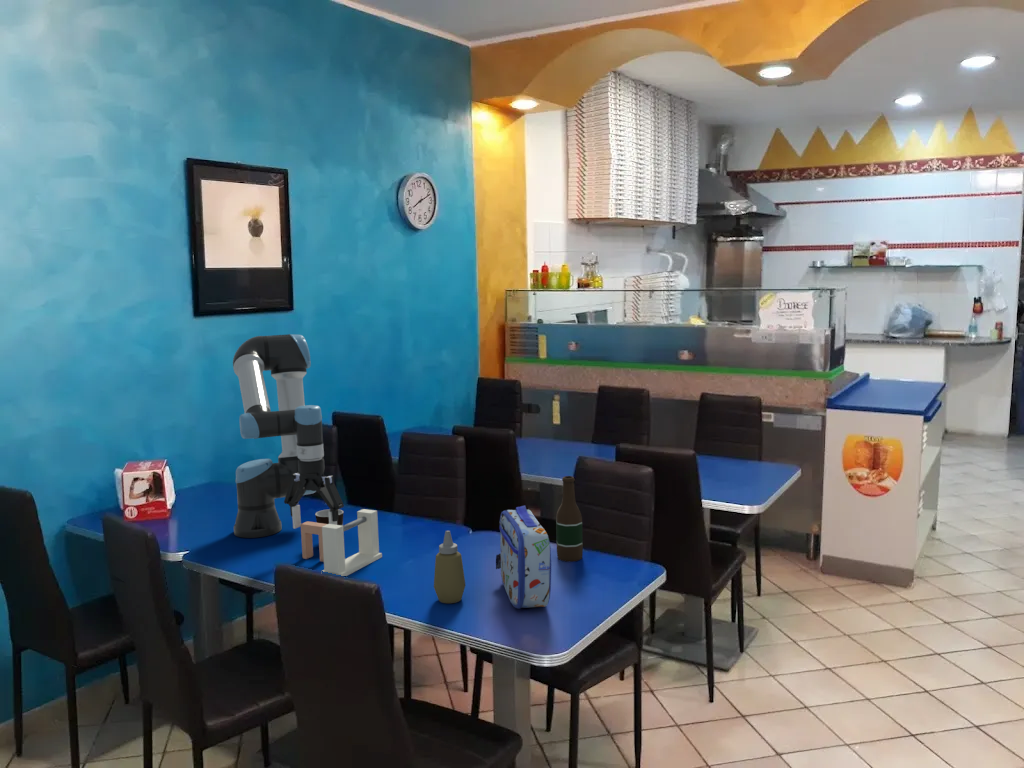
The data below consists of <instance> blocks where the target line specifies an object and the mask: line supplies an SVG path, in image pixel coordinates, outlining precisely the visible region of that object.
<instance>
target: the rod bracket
mask: <svg viewBox="0 0 1024 768" xmlns="http://www.w3.org/2000/svg"><path fill="white" fill-rule="evenodd" d="M356 515H357V519H355V520H352V521H350V522H348V523H346V524H343V526H341V525H334V524H327V525H325V526H323V527H322V538H323V556H324V562H323V568H324V569H323V570H321V572H322V571H323V572H328V573H332V574H336V575H341V576H346V577H347V576H349V575H352V574H353V573H356V572H358V570H360V569H362V568H364V567H366V566H368V565H369V564H371V563H374V562H376V561H377V560H379V559H382V558H383V553H382V552H380V545H379V544H380V543H379V520H378V510H374V509H365V508H361V509H360V510H358V511H356ZM354 527H357V536H358V552H357V553H354V554H352V555H350V556H348V557H347V558H346V555H345V554H346V553H345V535H344V534H345V533H344V532H346V531H349V530H350V529H352V528H354Z"/></svg>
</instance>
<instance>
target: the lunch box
mask: <svg viewBox="0 0 1024 768" xmlns="http://www.w3.org/2000/svg"><path fill="white" fill-rule="evenodd" d="M498 523H499V525H498V526H499V531H500V539H499V540H500V548H499V550H500V551H499V552H500V553H498V554H496V556H495V569H496V570H500V576H501V582H502V584H503V587H504V589H505V592H506V595H507V598H508V600H509V601H510V603H511V605H512V606H513V607H514V608H515V609H522V608H530V609H531V608H542V607H543V608H544V607H547V606H548V605H549V602H550V599H551V591H552V590H551V589H552V549H551V543H550V538H549V535H548V533H547V531H546V530H545V528H544V527H543V526H542V525H541V524H540V522H539V521H538V519H537V518H536V516H535V515H534V514H533V512H532V510H530V509H527V507H526V505H521V506H516V507H515V509H505V510H503V511H501V513H500V517H499V521H498Z"/></svg>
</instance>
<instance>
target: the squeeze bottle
mask: <svg viewBox="0 0 1024 768" xmlns="http://www.w3.org/2000/svg"><path fill="white" fill-rule="evenodd" d="M434 561H435V562H434V577H433V578H434V579H433V588H434V589H433V590H434V591H435V594H436V598H437V599H438V601H439V602H440V603H442V604H456V603H458V602H461V600H462V598H463V595H464V592H465V588H466V578H465V573H464V565H463V556H462V553H460V552H459V551H458V544H457V543H454V542H453V538H452V534H451V530H445V532H444V536H443V543H441V544H439V545H438V553H437V554H436V555H435V560H434Z"/></svg>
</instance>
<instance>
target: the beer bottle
mask: <svg viewBox="0 0 1024 768" xmlns="http://www.w3.org/2000/svg"><path fill="white" fill-rule="evenodd" d="M561 480H562V497H561V498H562V500H561V504H560V506H559V507H558V508H557V512H556V518H555V522H556V523H555V525H556V526H555V530H556V533H555V534H556V555H557V559H558V560H559V561H562V562H565V563H567V562H568V563H571V562H579V561H580V560H582V559H583V555H584V554H583V553H584V551H583V550H584V549H583V548H584V547H583V546H584V545H583V540H584V539H583V516H582V513H581V511H580V508H579V506H578V505H577V501H576V493H575V491H576V490H575V481H576V480H575V477H574V476H573V475H566V476H565V475H564V476H562V479H561Z"/></svg>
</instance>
